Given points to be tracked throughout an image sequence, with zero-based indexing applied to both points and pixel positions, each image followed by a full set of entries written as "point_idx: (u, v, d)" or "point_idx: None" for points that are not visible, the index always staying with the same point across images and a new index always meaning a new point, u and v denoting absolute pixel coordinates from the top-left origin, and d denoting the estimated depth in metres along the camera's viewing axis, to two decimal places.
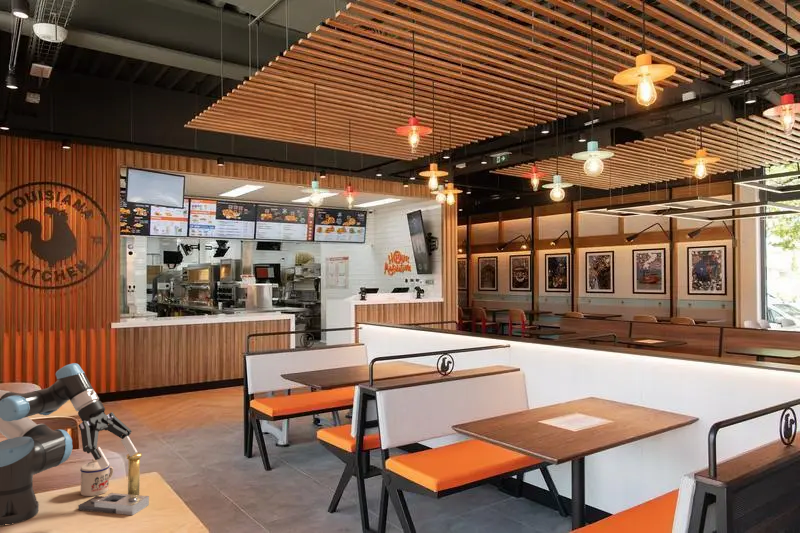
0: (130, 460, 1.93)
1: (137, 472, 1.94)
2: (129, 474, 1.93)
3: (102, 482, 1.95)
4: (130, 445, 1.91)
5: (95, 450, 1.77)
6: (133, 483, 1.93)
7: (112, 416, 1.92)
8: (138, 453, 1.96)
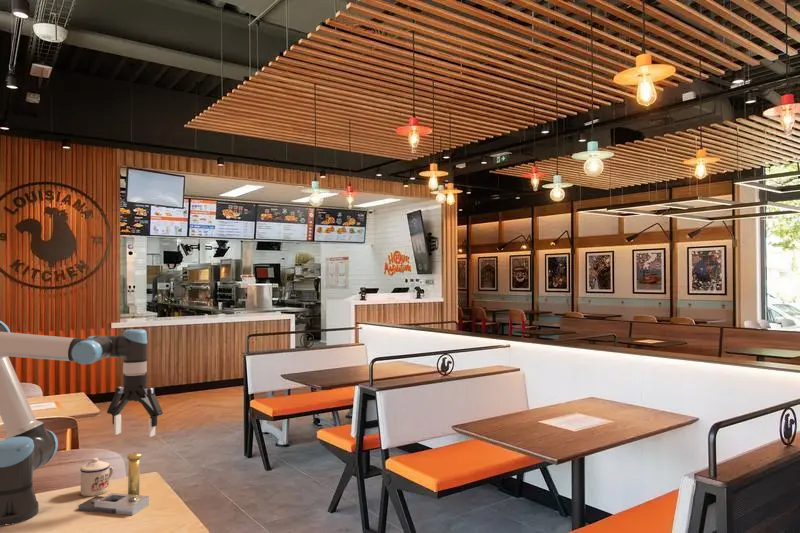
0: (130, 460, 1.93)
1: (137, 472, 1.94)
2: (129, 474, 1.93)
3: (102, 482, 1.95)
4: (120, 424, 1.97)
5: None
6: (133, 483, 1.93)
7: None
8: (138, 453, 1.96)
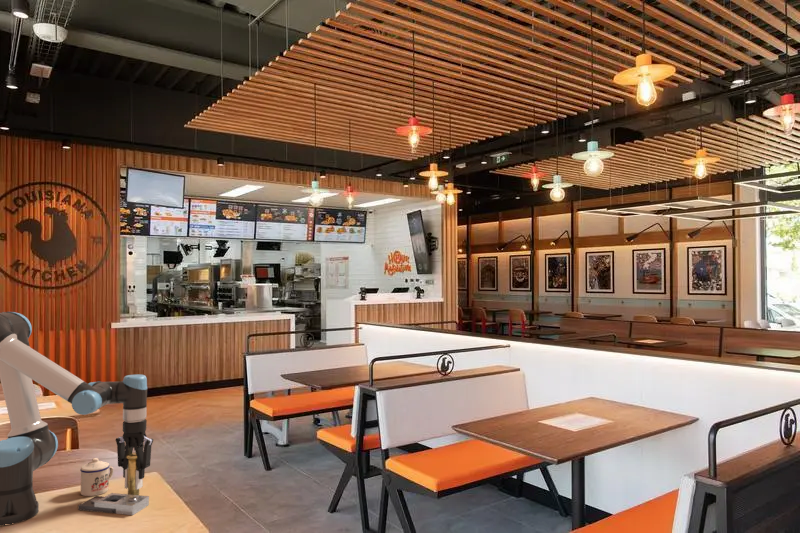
0: (130, 460, 1.93)
1: None
2: (129, 474, 1.93)
3: (102, 482, 1.95)
4: None
5: None
6: (133, 483, 1.93)
7: None
8: None
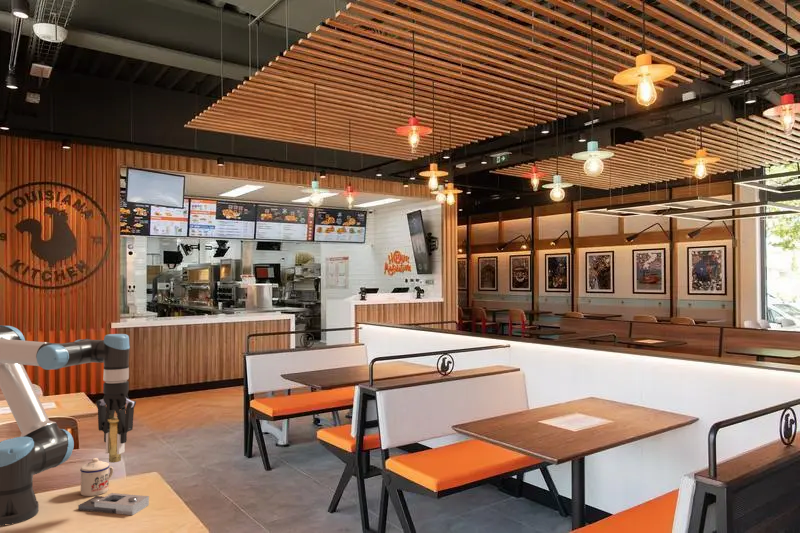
0: (111, 424, 1.83)
1: None
2: (110, 438, 1.83)
3: (102, 482, 1.95)
4: None
5: None
6: (114, 448, 1.83)
7: None
8: None
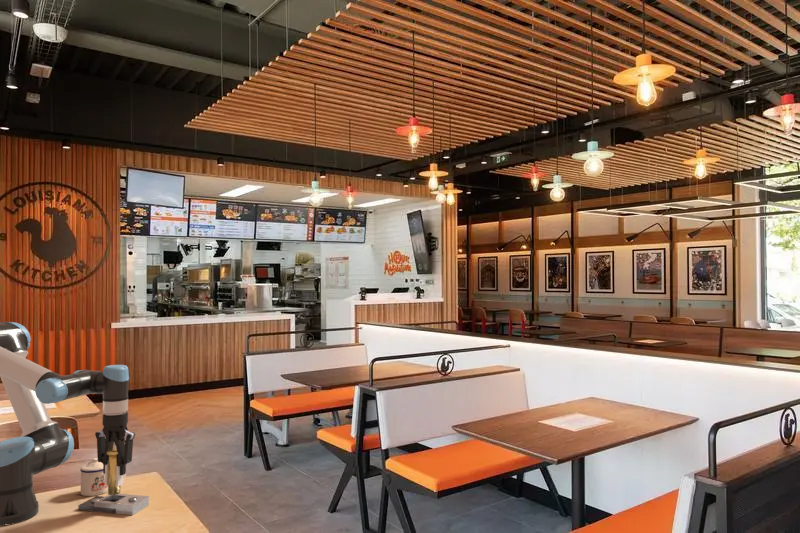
0: (110, 456, 1.82)
1: None
2: (109, 471, 1.82)
3: (102, 482, 1.95)
4: None
5: None
6: (113, 481, 1.82)
7: None
8: None
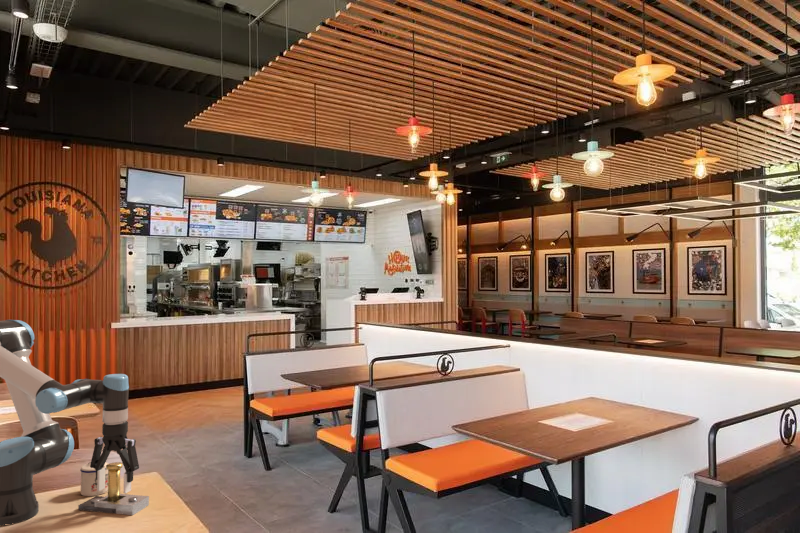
0: (110, 471, 1.82)
1: (117, 483, 1.83)
2: (109, 486, 1.82)
3: None
4: (104, 479, 1.86)
5: None
6: (113, 495, 1.82)
7: None
8: (119, 463, 1.85)
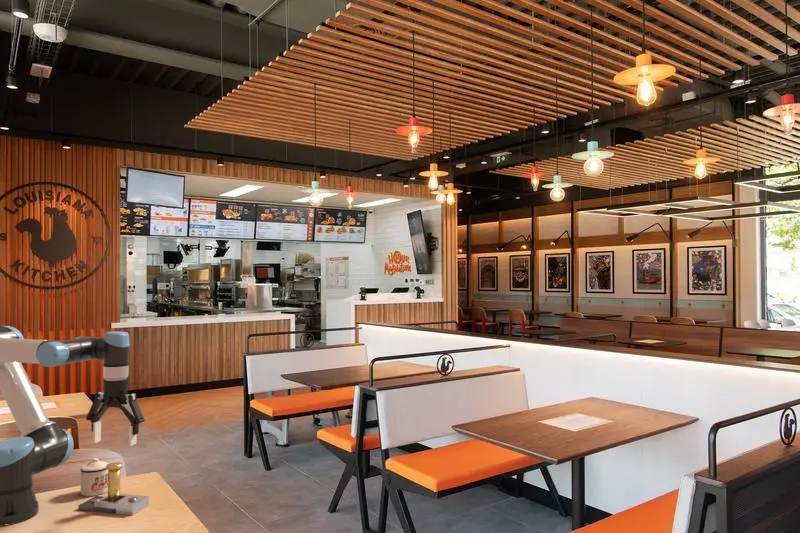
0: (110, 471, 1.82)
1: (117, 483, 1.83)
2: (109, 486, 1.82)
3: (102, 482, 1.95)
4: (99, 431, 1.87)
5: None
6: (113, 495, 1.82)
7: None
8: (119, 463, 1.85)
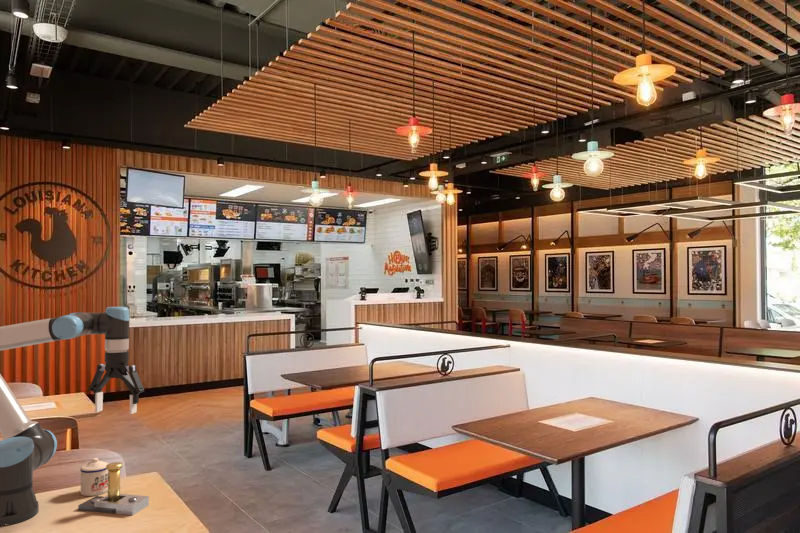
0: (110, 471, 1.82)
1: (117, 483, 1.83)
2: (109, 486, 1.82)
3: (102, 482, 1.95)
4: (101, 401, 1.97)
5: None
6: (113, 495, 1.82)
7: None
8: (119, 463, 1.85)
